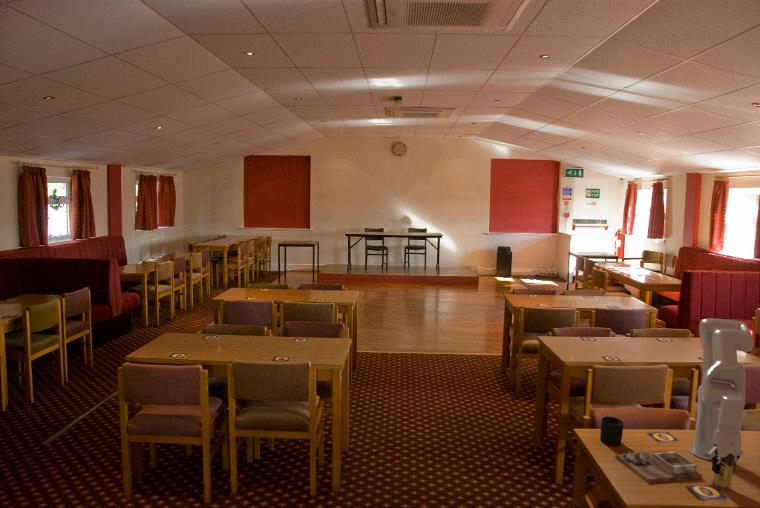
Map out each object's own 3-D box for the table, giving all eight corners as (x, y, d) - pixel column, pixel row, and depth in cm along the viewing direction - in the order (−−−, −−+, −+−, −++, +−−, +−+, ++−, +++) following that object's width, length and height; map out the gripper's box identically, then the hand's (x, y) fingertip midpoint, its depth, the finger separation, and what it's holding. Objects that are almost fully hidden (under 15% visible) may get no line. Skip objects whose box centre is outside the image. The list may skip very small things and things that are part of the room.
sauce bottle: (707, 482, 220) (714, 435, 217) (722, 482, 220) (729, 435, 218) (719, 492, 213) (725, 442, 211) (734, 492, 214) (741, 443, 211)
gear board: (665, 454, 242) (666, 444, 242) (701, 478, 223) (702, 467, 222) (615, 457, 236) (616, 447, 236) (647, 482, 217) (648, 471, 217)
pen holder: (626, 445, 249) (628, 424, 248) (609, 447, 246) (611, 426, 244) (611, 436, 258) (613, 415, 256) (594, 438, 255) (596, 417, 253)
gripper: (739, 422, 219) (733, 465, 221) (702, 424, 215) (696, 468, 217) (756, 430, 212) (749, 475, 214) (718, 433, 208) (712, 478, 210)
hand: (723, 471), depth 216 cm, fingers closed on sauce bottle, 6 cm apart
